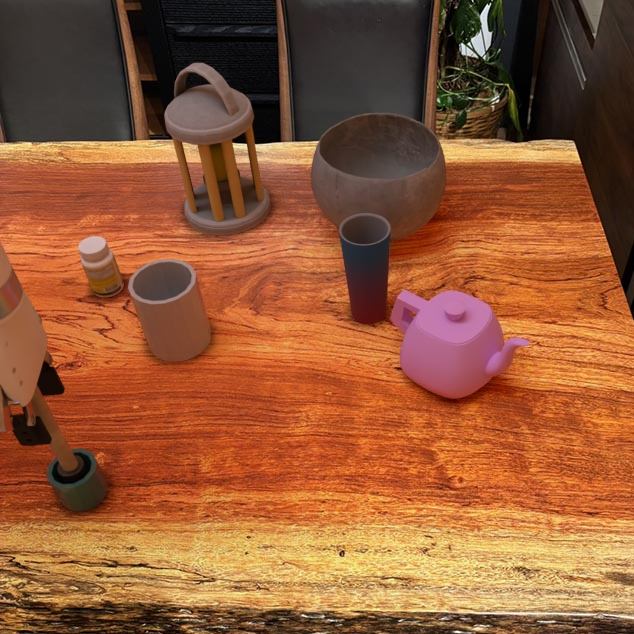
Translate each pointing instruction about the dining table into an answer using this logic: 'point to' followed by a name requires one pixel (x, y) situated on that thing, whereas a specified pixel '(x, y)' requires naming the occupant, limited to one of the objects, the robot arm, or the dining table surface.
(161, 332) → the grey pencil pot
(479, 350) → the teapot
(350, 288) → the cup
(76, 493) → the holder
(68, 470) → the wooden handled tool
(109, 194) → the dining table surface
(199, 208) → the lantern
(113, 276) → the supplement bottle
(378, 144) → the bowl
